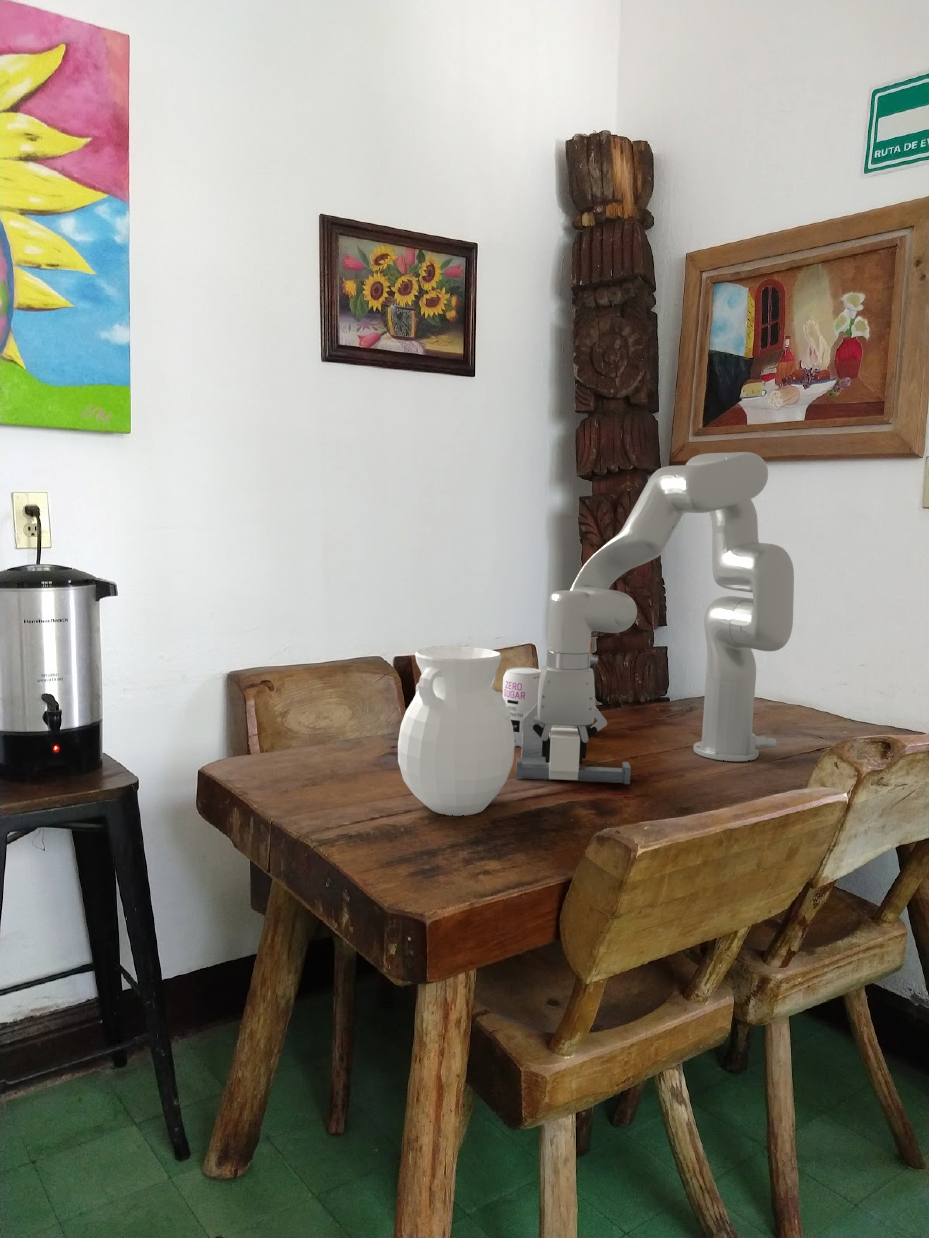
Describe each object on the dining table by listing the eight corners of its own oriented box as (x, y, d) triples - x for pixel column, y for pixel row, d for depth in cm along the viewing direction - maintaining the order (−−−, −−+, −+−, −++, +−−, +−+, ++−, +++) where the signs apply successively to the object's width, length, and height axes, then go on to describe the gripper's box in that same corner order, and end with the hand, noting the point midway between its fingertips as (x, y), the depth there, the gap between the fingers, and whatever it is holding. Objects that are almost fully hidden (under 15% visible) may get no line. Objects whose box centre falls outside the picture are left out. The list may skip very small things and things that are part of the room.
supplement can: (540, 738, 192) (543, 667, 190) (540, 748, 184) (543, 675, 182) (502, 736, 193) (504, 666, 191) (499, 746, 185) (502, 673, 183)
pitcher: (448, 781, 160) (452, 639, 157) (534, 805, 149) (541, 653, 146) (371, 806, 146) (374, 650, 143) (461, 835, 135) (466, 666, 131)
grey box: (573, 758, 178) (575, 712, 177) (575, 769, 170) (577, 721, 169) (521, 756, 178) (523, 710, 177) (521, 766, 171) (523, 719, 170)
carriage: (575, 770, 168) (577, 728, 167) (578, 781, 161) (580, 738, 160) (547, 769, 168) (549, 727, 167) (549, 780, 161) (551, 737, 160)
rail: (627, 778, 166) (628, 761, 165) (629, 784, 162) (630, 767, 162) (516, 773, 167) (516, 757, 166) (516, 778, 163) (516, 762, 163)
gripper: (614, 659, 165) (609, 758, 167) (519, 655, 166) (515, 753, 168) (619, 666, 158) (613, 769, 160) (519, 662, 159) (515, 765, 161)
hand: (563, 760), depth 164 cm, fingers closed on carriage, 5 cm apart
